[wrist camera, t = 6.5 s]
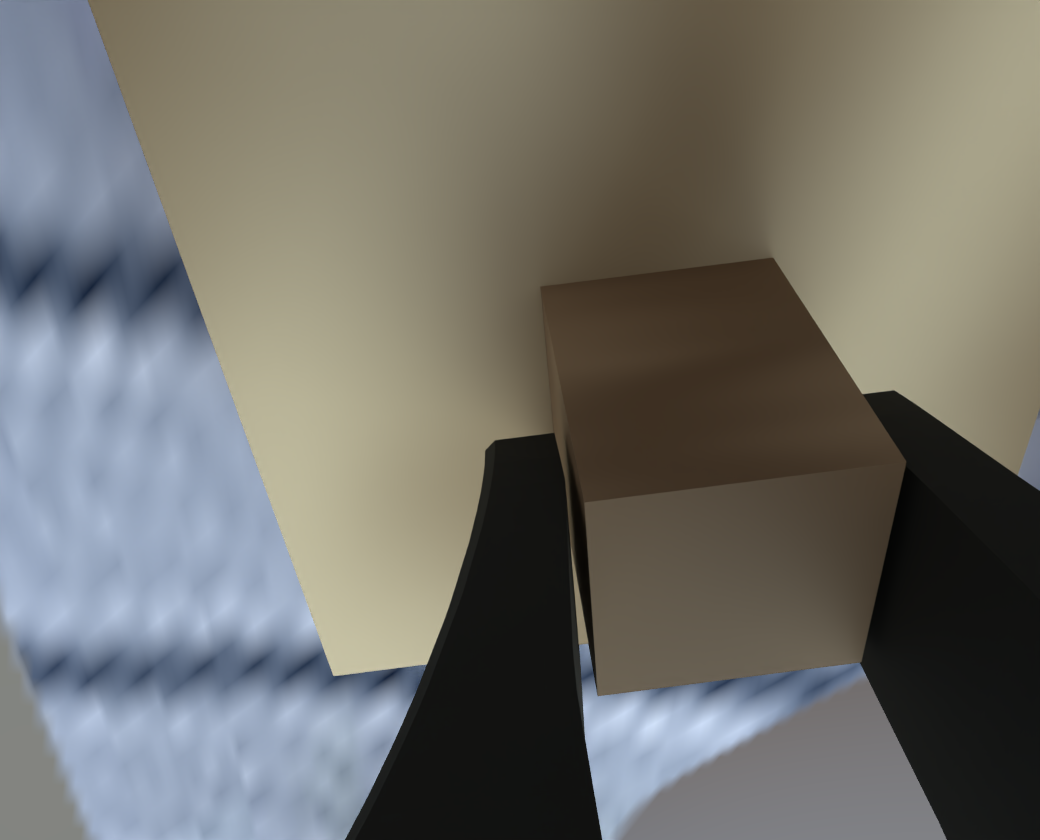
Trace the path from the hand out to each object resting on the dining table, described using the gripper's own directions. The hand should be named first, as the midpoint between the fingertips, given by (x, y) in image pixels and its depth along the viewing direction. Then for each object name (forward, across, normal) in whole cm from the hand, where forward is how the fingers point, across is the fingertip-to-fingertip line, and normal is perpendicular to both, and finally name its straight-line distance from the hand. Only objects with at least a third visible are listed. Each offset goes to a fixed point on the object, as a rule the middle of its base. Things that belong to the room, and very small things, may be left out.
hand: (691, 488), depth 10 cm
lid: (+3, 0, 0) cm, 3 cm away
